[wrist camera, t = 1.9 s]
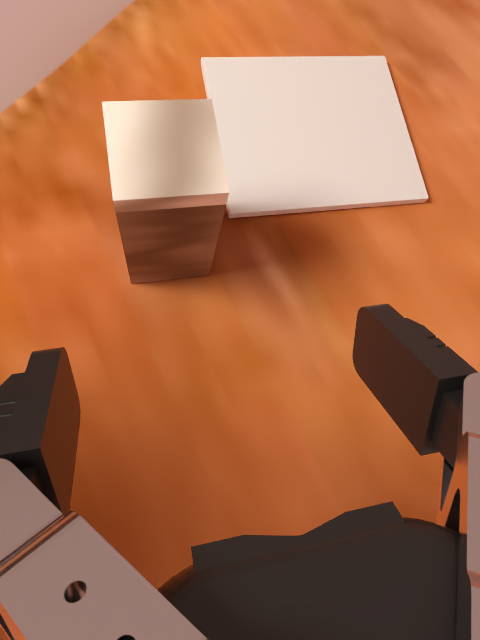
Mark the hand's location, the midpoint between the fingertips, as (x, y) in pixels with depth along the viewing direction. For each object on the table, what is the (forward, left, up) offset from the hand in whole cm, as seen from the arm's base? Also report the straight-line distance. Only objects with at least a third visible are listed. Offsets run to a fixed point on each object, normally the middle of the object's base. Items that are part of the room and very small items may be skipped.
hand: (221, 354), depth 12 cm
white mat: (+12, +19, -15) cm, 27 cm away
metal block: (0, +11, -15) cm, 19 cm away
